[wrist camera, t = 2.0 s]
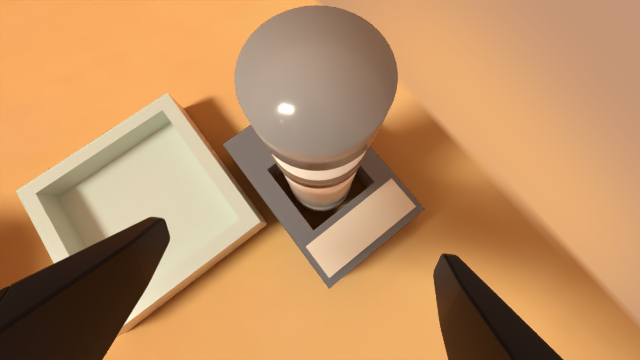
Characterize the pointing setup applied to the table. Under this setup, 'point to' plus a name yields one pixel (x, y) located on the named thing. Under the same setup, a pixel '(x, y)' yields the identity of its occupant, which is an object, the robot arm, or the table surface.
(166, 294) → the tray
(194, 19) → the table surface
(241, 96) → the white and grey cylinder
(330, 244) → the block
